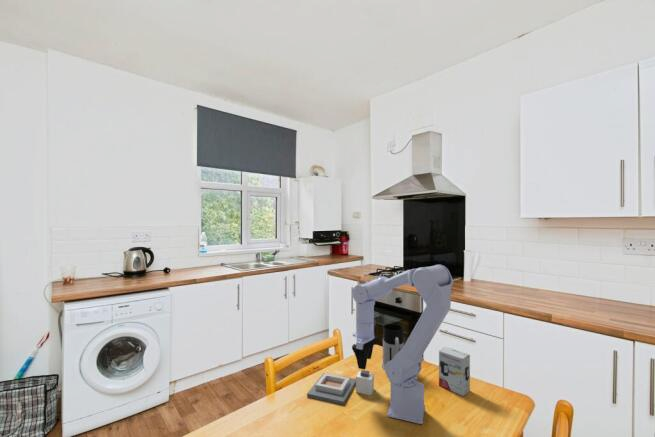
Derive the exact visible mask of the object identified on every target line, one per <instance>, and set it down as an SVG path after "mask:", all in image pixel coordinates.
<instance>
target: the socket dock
mask: <svg viewBox="0 0 655 437" xmlns="http://www.w3.org/2000/svg"><path fill="white" fill-rule="evenodd" d="M354 387H356V378H352V377H348V376H347V377H346V376H341V375H336V374H331V373H326V372H323V373H322V375H321V376H319V378H318V380H316V382H315V383H314V384H313V385H312V386H311V388H310V389H309V390H308V392H307V393H306V397H307V398H311V399H315V400H320V401H325V402H328V403H333V404H337V405H342V406H344V405H345V404H346V401H347V400H348V399H349V396H350V394H351V393H352V392H353V389H354Z"/></svg>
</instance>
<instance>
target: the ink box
mask: <svg viewBox="0 0 655 437" xmlns="http://www.w3.org/2000/svg"><path fill="white" fill-rule="evenodd" d="M470 361H471V356H470V354H469V353H467V352H464V351H461V350H457V349H455V348H452V347H449V346H446V347H445V346H444V347H443V348H441V349H439V351H438V386H439V387H442V388H444V389H446V390H449V391H451V392H453V393H455V394H458V395H460V396H462V397H463V396H466V395H467V394H469V392H471V370H470V369H471V365H470V364H471V362H470Z"/></svg>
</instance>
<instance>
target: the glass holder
mask: <svg viewBox="0 0 655 437" xmlns="http://www.w3.org/2000/svg"><path fill="white" fill-rule="evenodd" d="M382 329H383V330H382V331H383V332H382V334H383V335H382V363H381V369H383V370H384V371H385V366H386V363H387V362H388V361H390V360H392V359H393V358H394V356H395V355H396V354H397V353H398V352H399V351H400V350H401V349H402V348H403V347H404V345H405V339H404V326H402V325H401V324H395V323H388V324H384V325H383V328H382Z"/></svg>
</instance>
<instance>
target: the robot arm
mask: <svg viewBox="0 0 655 437" xmlns="http://www.w3.org/2000/svg"><path fill="white" fill-rule="evenodd" d="M453 284H454V280H453V277H452V275H451V272H450V270H449V268H448V267H446V266H445V265H442V264H435V265H431V266H423V267H422V266H421V267H418V268H412V269H407V270H405V271H402V272H401V273H398V274H396V275H394V276H392V277H390V278H389V277H387V276H382V275H377V276H375V279H371V281H370V280H367V281H365V283H363V284H356V285H355V286H353V288H352V292H351V293H352V298H353V300H354V302H355V306H356V307H355V320H356V321H355V332H353V333H352V337H355V340H356V342H355V344H354V343H353V344H352V346H351V350H352V351H353V354H354V355H355V358H356V359H355V360H356V364H357V368H358V369H360V370H365V371H366V367H367V365H368V364H367V362H368V360H371V359H372V355H373V351H374V346H375V343H376V341H377V338H378V336H377V335H375V322H374V321H375V312H374V311H375V308H374V307H375V305H376V300H377V299H379V298H383V297H386V296H389V295H391V293H392V292H393V289H396V288H399V287H403V286H405V285H409V286H410V287H414V288H415V290H416V291H417V293H418V294H419V296H420V297H421V299H422V301H424V303H425V305H426V306H425V308H424V310H423V311H422V313H421V315H420V317H418V321H417V322H416V324H415V326H414V328H413V329H412V331H411V332H410V335H409V336H408V337H407V340H406V341H405V342H404V347H403V348H402V349H401V350H400V351H399V352H398V353H397V354H396V355H395V356H394V358H393V359H392V360H390V361H388V362H387V363H386V366H385V370H384V371H385V374H386V377H387V379H388V382H390V404H389V406H388V410H387V414H386V415H387V417H388V418H392V419H397V420H402V421H406V422H411V423H413V424H420V425H423V424H424V415H425V412H426V404H425V384H424V383H422V382H419V381H418V380H417V379H418V375H419V374H420V373H421V371H422V363H423V361H424V357H423V355H424V353H425V351H426V350H427V348H428V347H429V345H430V343H431V341H432V340H433V338H434V336H435V335H436V333H437V331H438V330H439V328H440V327H441V325H442V323H443V321H444V320H445V318H446V316H447V315H448V313H449V311H450V309H451V303H452V302H451V299H452V298H451V297H452V286H453Z"/></svg>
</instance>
